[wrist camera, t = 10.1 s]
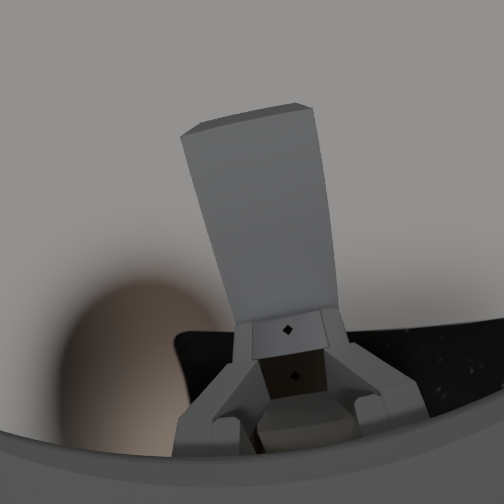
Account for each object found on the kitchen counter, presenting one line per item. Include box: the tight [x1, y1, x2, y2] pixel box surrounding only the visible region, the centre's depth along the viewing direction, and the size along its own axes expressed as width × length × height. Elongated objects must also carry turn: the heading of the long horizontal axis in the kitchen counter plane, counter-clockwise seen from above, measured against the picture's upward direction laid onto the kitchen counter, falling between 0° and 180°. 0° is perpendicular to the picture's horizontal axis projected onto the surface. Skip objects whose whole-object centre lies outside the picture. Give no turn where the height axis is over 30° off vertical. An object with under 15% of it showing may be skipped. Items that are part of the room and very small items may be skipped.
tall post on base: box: [180, 103, 354, 453], centre depth 12 cm, size 4×4×15 cm
